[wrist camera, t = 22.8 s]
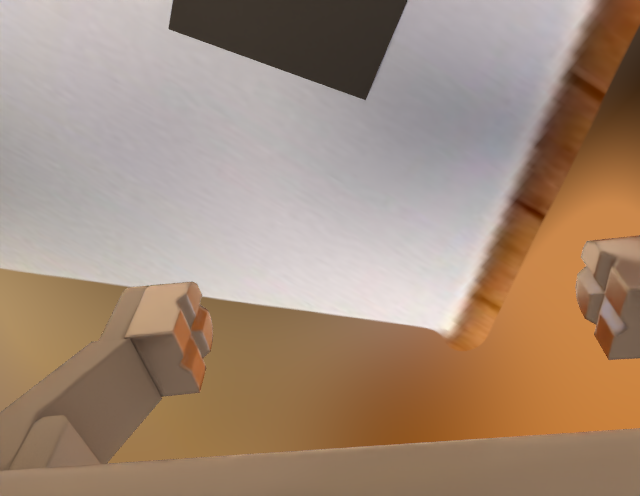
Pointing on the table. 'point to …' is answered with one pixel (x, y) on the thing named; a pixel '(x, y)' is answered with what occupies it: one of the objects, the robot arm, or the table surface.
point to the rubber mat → (299, 35)
